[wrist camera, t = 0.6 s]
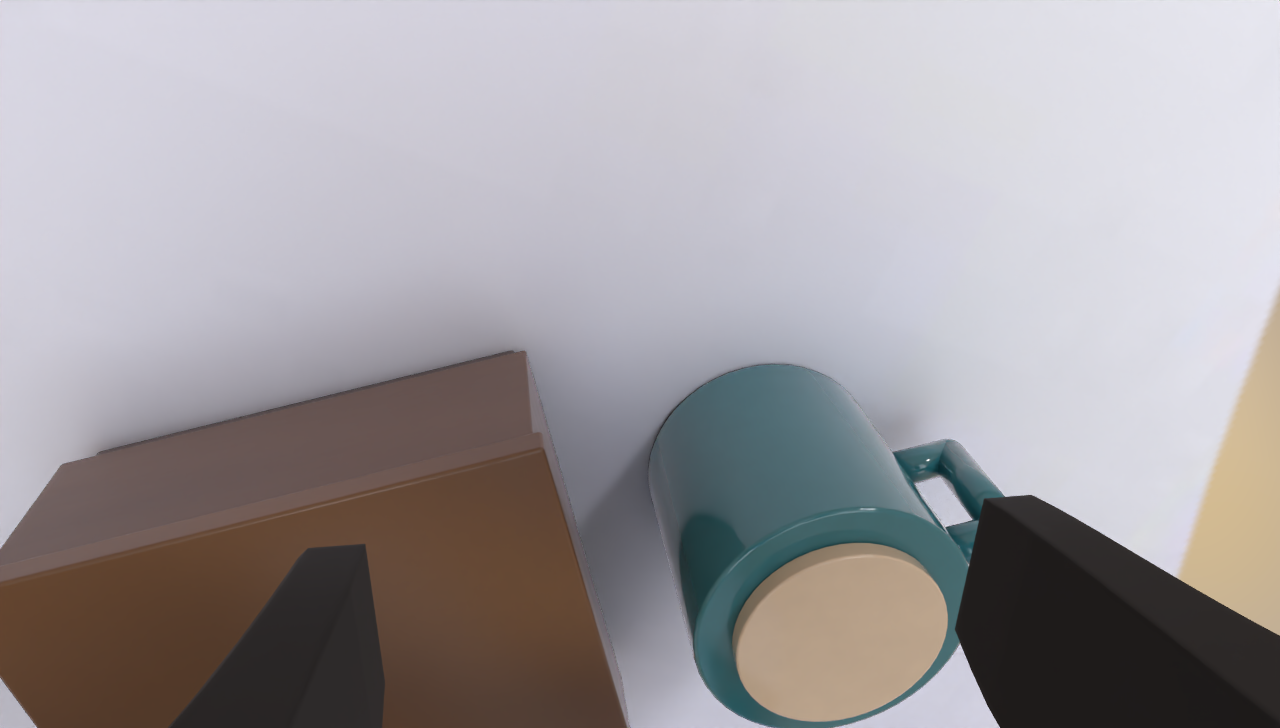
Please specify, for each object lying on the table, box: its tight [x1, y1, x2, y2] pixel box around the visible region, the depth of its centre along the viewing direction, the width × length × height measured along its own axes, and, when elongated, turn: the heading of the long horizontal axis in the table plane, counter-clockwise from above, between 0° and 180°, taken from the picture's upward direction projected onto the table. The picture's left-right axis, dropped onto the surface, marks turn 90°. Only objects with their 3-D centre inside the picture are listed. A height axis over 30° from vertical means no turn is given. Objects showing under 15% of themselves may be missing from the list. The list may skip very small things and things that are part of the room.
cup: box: [648, 364, 1005, 728], centre depth 20 cm, size 5×7×6 cm
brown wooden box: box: [0, 351, 630, 728], centre depth 20 cm, size 10×10×5 cm
